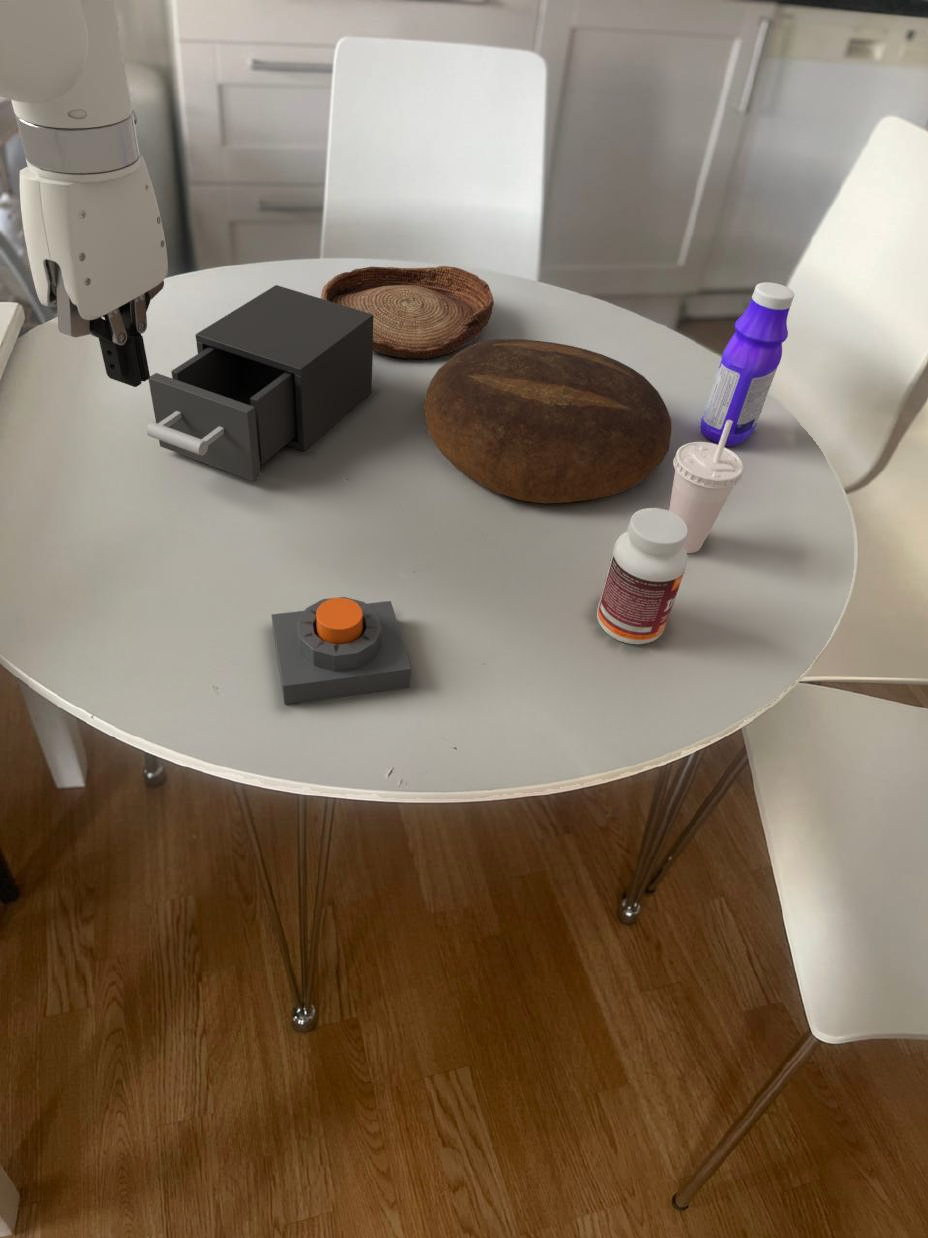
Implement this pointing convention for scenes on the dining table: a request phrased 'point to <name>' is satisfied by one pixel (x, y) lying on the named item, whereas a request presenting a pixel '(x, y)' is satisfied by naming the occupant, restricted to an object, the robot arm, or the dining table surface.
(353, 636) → the button
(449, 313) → the basket
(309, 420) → the grey drawer cabinet
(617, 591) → the pill bottle
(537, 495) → the bread
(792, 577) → the dining table surface
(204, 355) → the fryer drawer
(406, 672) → the control block
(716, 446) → the smoothie
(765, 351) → the bottle
